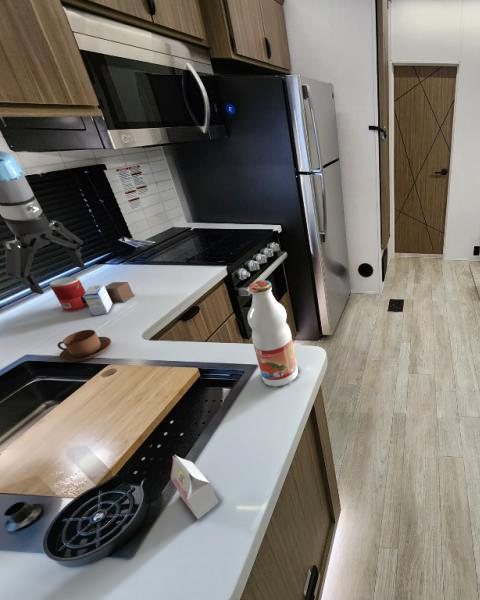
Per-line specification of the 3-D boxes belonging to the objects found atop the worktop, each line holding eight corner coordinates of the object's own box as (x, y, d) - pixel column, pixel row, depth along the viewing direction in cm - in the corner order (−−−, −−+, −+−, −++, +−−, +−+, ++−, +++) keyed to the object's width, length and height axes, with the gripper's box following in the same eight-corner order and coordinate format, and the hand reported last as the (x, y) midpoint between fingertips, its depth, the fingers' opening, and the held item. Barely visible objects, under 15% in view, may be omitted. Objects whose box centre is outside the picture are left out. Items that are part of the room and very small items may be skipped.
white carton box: (201, 481, 64) (184, 447, 59) (218, 502, 61) (202, 467, 56) (181, 496, 62) (162, 462, 57) (198, 519, 58) (179, 484, 53)
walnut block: (107, 302, 129) (101, 288, 127) (118, 295, 135) (112, 282, 132) (123, 302, 130) (116, 288, 127) (133, 295, 135) (127, 281, 132)
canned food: (92, 306, 127) (78, 280, 121) (64, 313, 122) (49, 287, 117) (90, 299, 131) (77, 274, 126) (63, 306, 127) (49, 280, 122)
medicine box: (99, 306, 126) (88, 286, 122) (113, 304, 128) (103, 284, 124) (93, 316, 120) (82, 295, 116) (108, 313, 122) (98, 292, 118)
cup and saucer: (59, 371, 93) (48, 353, 90) (65, 350, 102) (55, 334, 99) (112, 355, 99) (103, 339, 96) (114, 337, 108) (106, 321, 105)
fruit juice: (305, 373, 92) (288, 282, 79) (276, 392, 85) (252, 297, 72) (285, 360, 97) (266, 272, 84) (255, 377, 90) (230, 285, 77)
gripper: (-16, 241, 77) (31, 308, 90) (80, 200, 96) (106, 260, 109) (-48, 233, 77) (3, 301, 90) (54, 194, 96) (84, 254, 109)
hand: (60, 279), depth 100 cm, fingers open, 13 cm apart
